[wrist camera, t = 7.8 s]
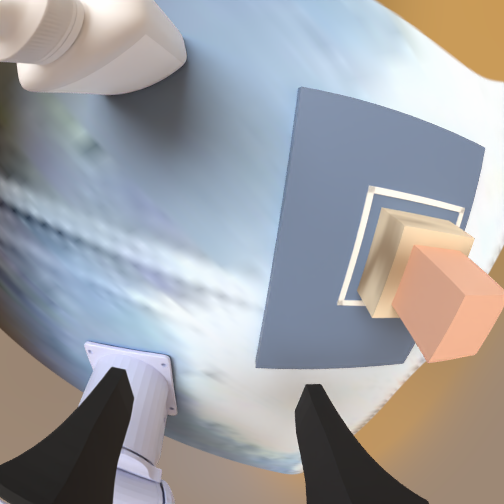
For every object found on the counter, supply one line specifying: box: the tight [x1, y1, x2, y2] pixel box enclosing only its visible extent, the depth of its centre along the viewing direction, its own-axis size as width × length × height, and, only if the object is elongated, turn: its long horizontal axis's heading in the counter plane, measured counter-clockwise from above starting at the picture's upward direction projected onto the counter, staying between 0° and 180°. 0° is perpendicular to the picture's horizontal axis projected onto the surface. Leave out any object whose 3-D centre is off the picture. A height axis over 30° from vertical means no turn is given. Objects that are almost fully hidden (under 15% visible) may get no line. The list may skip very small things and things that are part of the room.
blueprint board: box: [256, 87, 485, 369], centre depth 18 cm, size 20×14×1 cm
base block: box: [357, 207, 475, 318], centre depth 16 cm, size 6×6×3 cm
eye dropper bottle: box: [0, 0, 187, 95], centre depth 7 cm, size 4×6×12 cm
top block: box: [391, 245, 504, 363], centre depth 13 cm, size 4×4×5 cm
